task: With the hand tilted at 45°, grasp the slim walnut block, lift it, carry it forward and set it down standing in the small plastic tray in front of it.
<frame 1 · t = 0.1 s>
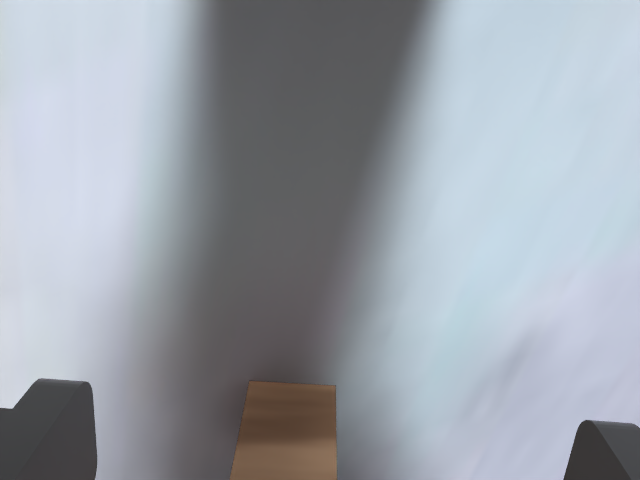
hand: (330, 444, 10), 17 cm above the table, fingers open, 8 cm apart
block: (290, 417, 31), on the table
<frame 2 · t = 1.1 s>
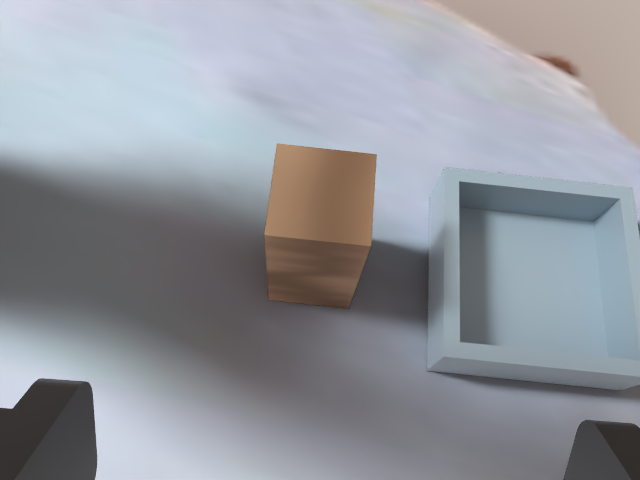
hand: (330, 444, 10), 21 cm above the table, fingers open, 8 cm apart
block: (312, 266, 34), on the table
tray: (519, 287, 34), on the table
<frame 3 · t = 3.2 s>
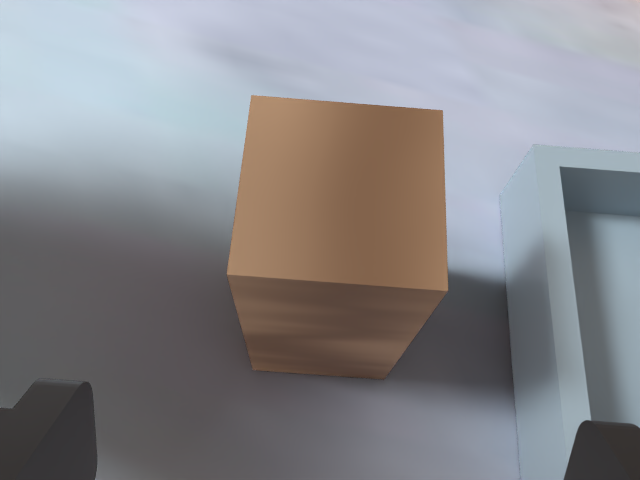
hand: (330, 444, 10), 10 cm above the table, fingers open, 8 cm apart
block: (322, 311, 21), on the table
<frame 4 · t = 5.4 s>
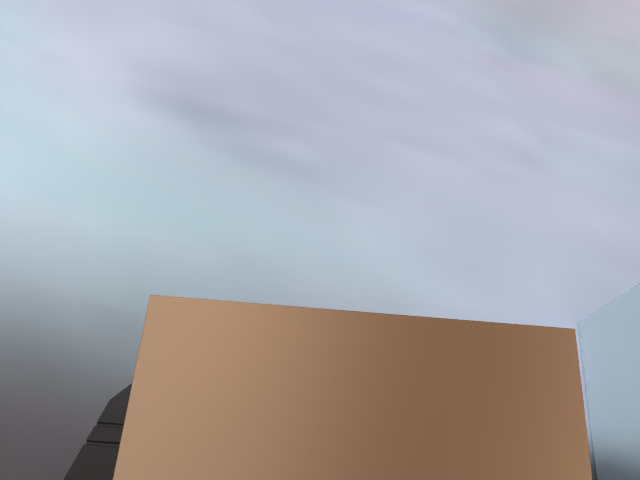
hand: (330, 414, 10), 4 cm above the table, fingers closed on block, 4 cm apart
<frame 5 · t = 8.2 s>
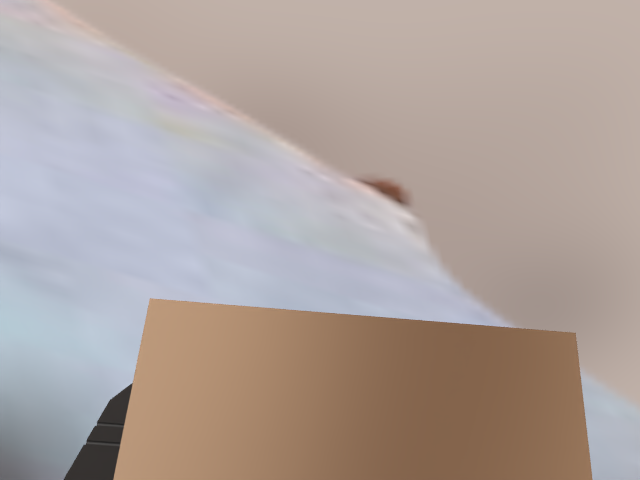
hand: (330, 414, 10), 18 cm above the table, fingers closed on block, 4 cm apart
when the fingers open (6 cm above the table, at t = 10.9 s): block drops 1 cm, resting on tray.
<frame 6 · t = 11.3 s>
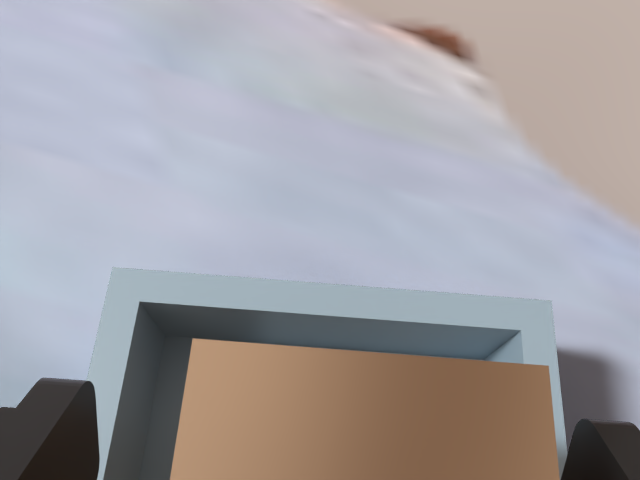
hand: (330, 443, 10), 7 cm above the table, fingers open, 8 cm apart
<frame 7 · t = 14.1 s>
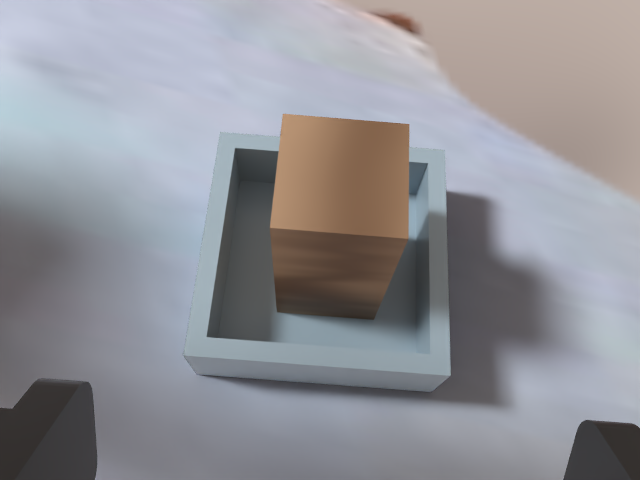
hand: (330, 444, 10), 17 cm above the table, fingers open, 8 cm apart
block: (328, 270, 28), point 1 cm above the table, touching tray
tray: (321, 273, 29), on the table
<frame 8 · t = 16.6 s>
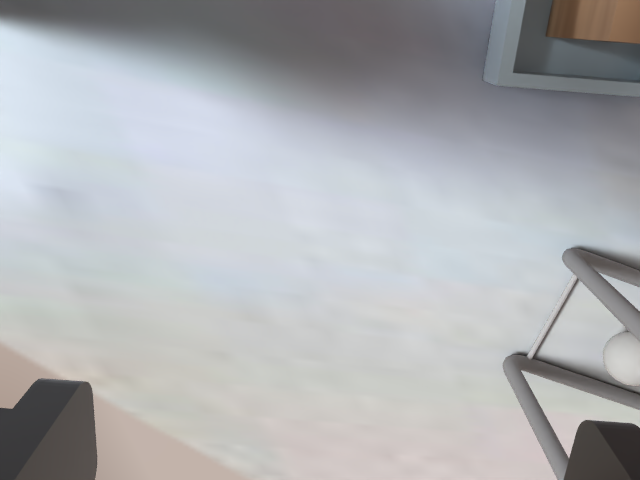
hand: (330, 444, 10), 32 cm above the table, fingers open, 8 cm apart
block: (589, 1, 36), point 1 cm above the table, touching tray
tray: (580, 0, 37), on the table
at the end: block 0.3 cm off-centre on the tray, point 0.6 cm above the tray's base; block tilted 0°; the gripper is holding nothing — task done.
